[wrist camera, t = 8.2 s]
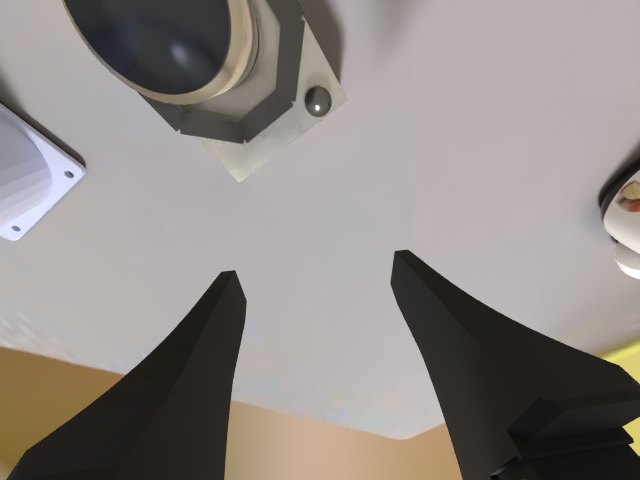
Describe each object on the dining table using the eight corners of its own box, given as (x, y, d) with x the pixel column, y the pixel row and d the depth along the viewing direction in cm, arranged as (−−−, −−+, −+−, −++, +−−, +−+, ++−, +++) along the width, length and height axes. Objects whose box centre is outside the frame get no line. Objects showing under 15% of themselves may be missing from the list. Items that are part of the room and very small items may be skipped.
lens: (268, 87, 13) (253, 103, 8) (180, 90, 12) (102, 109, 7) (253, -38, 10) (215, -144, 5) (142, -38, 10) (-22, -150, 5)
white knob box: (246, 166, 18) (234, 192, 14) (86, -12, 12) (-2, -45, 8) (338, 94, 16) (353, 103, 12) (199, -163, 10) (148, -292, 6)
